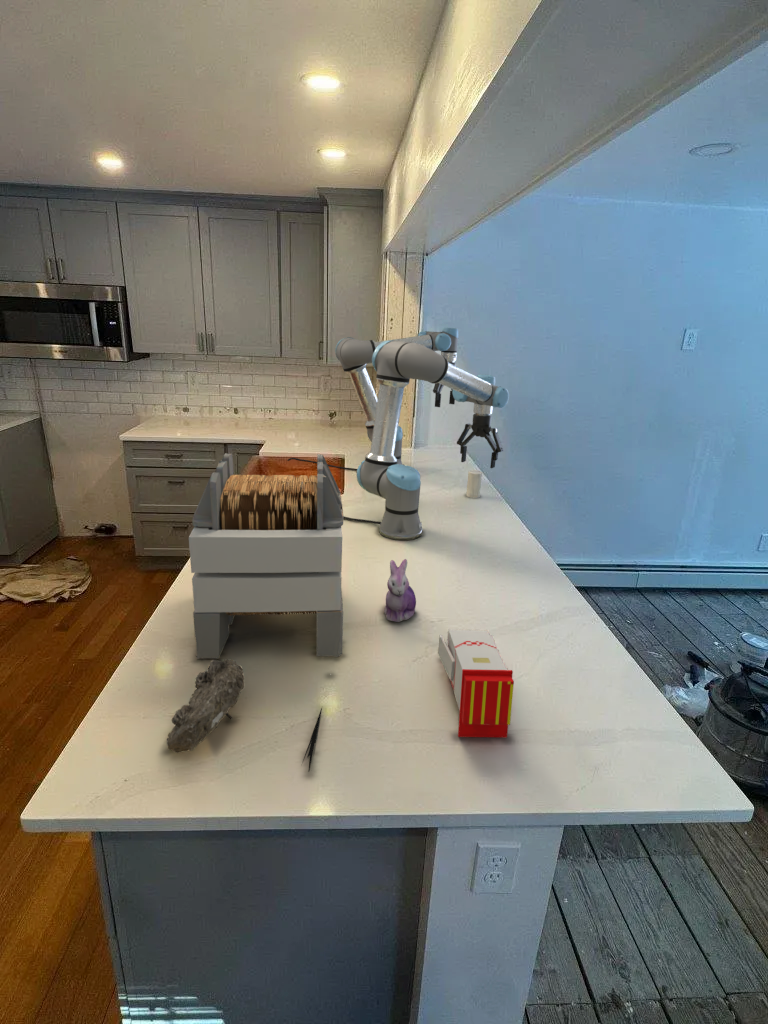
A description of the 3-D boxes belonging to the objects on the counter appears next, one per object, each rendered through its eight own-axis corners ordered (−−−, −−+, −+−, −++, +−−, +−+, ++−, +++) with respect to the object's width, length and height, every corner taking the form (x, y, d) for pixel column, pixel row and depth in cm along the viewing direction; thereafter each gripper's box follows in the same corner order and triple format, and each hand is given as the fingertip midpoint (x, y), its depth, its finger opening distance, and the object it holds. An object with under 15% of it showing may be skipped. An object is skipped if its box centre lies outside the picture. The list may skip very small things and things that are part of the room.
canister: (467, 497, 242) (470, 473, 238) (464, 493, 247) (467, 470, 244) (481, 498, 242) (483, 474, 239) (478, 493, 248) (480, 470, 244)
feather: (331, 679, 122) (336, 673, 122) (307, 777, 96) (313, 769, 95) (324, 675, 122) (329, 669, 121) (298, 772, 95) (304, 764, 95)
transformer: (219, 588, 156) (210, 443, 142) (338, 587, 160) (340, 446, 146) (193, 661, 124) (179, 483, 110) (343, 657, 128) (346, 485, 114)
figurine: (392, 627, 141) (395, 572, 136) (374, 608, 149) (376, 556, 144) (425, 619, 145) (429, 566, 140) (405, 601, 154) (408, 550, 149)
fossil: (192, 660, 117) (244, 628, 112) (224, 691, 120) (276, 661, 115) (142, 746, 98) (202, 712, 93) (182, 779, 101) (242, 748, 96)
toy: (488, 613, 130) (523, 677, 101) (484, 667, 133) (517, 744, 104) (435, 612, 130) (455, 676, 101) (432, 666, 133) (451, 743, 103)
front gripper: (515, 417, 226) (509, 468, 234) (460, 408, 240) (456, 457, 247) (507, 419, 221) (501, 472, 228) (451, 411, 234) (447, 460, 242)
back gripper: (441, 363, 262) (437, 409, 269) (467, 360, 281) (463, 403, 288) (427, 361, 266) (424, 407, 273) (454, 359, 285) (451, 402, 292)
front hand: (477, 464), depth 238 cm, fingers open, 13 cm apart
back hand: (444, 405), depth 281 cm, fingers open, 13 cm apart
